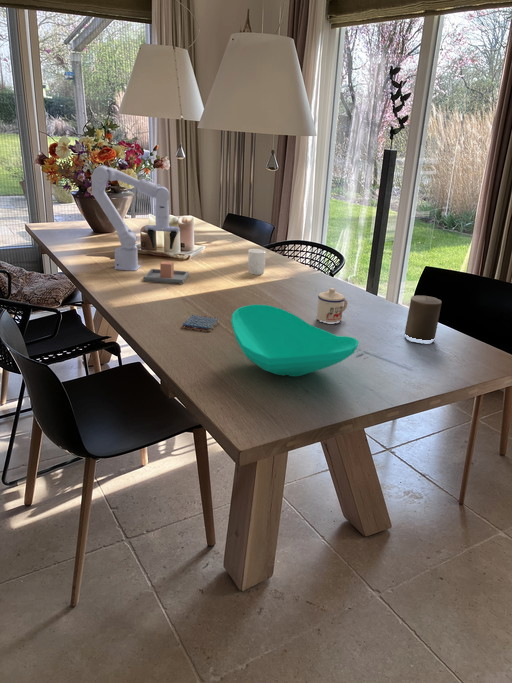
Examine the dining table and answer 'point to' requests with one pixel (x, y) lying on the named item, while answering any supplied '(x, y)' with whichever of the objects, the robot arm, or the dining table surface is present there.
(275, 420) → the dining table surface
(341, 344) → the table top decor
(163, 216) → the robot arm
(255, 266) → the white cup
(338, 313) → the teacup with lid
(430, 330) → the pillar candle
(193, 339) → the dining table surface
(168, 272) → the tan block
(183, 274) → the grey tray
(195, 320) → the woven mat
